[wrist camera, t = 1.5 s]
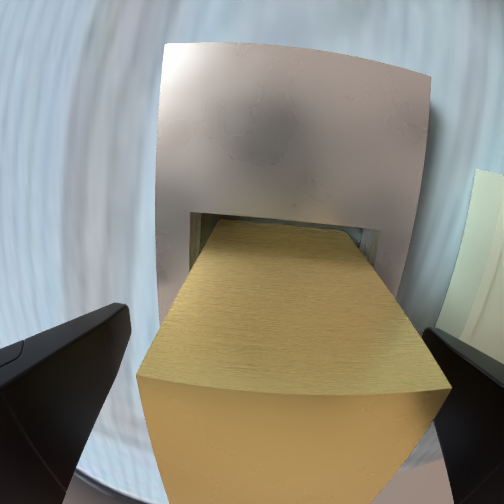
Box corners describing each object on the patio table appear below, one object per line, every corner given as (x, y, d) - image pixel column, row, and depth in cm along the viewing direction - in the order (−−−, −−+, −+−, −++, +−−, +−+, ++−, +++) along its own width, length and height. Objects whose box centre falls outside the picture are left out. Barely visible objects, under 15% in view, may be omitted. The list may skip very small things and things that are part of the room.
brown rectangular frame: (408, 83, 9) (430, 76, 7) (333, 422, 15) (337, 448, 13) (180, 57, 9) (165, 44, 8) (180, 411, 15) (173, 437, 13)
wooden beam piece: (345, 231, 11) (452, 387, 4) (324, 335, 13) (361, 512, 5) (219, 219, 11) (135, 374, 4) (215, 326, 13) (170, 505, 5)
